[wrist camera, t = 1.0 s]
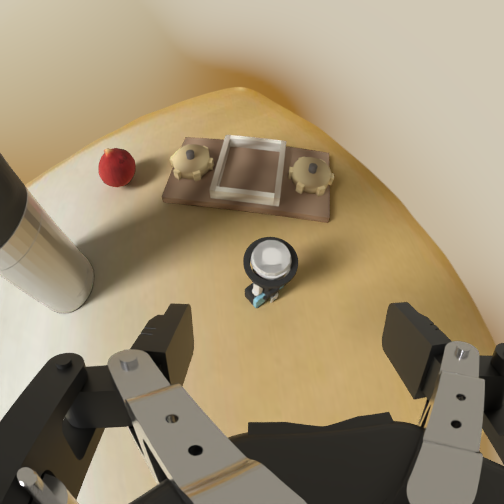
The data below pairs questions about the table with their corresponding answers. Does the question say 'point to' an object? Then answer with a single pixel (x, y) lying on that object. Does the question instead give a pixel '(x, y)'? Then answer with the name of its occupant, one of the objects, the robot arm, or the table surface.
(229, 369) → the table surface
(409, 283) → the table surface
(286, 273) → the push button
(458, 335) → the table surface
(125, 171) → the onion
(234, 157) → the gear board
